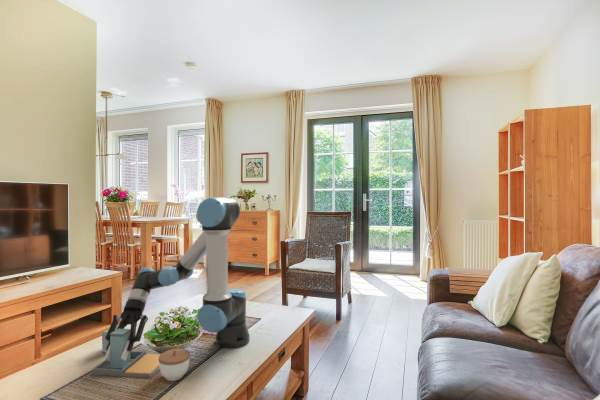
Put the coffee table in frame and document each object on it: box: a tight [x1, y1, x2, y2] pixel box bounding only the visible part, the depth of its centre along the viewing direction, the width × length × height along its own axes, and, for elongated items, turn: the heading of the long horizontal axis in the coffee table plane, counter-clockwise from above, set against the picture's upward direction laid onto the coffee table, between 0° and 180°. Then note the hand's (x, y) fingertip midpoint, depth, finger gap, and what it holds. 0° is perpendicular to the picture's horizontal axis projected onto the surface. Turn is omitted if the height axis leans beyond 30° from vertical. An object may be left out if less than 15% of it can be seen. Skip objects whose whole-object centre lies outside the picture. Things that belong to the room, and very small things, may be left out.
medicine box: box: [101, 324, 119, 353], centre depth 145 cm, size 8×4×9 cm, turn 168°
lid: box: [121, 353, 161, 379], centre depth 130 cm, size 11×16×1 cm
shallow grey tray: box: [91, 350, 147, 377], centre depth 131 cm, size 12×16×2 cm
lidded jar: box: [159, 348, 191, 382], centre depth 123 cm, size 11×11×9 cm
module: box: [109, 328, 131, 370], centre depth 131 cm, size 5×5×13 cm
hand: (115, 359), depth 127 cm, fingers closed on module, 5 cm apart
